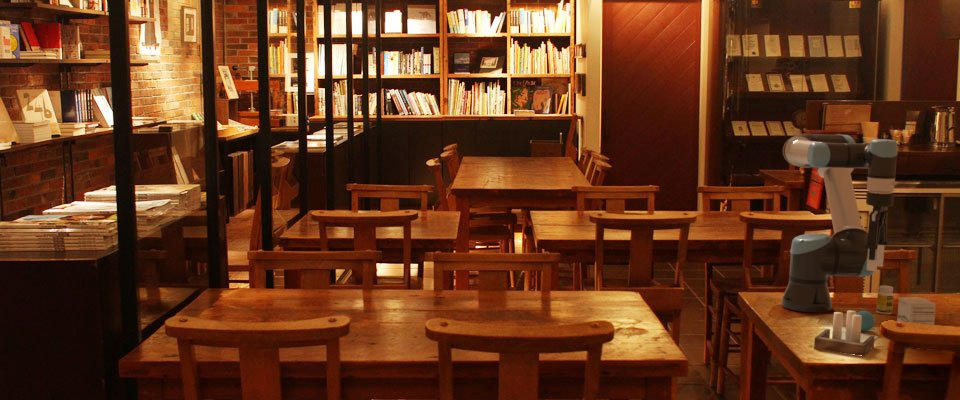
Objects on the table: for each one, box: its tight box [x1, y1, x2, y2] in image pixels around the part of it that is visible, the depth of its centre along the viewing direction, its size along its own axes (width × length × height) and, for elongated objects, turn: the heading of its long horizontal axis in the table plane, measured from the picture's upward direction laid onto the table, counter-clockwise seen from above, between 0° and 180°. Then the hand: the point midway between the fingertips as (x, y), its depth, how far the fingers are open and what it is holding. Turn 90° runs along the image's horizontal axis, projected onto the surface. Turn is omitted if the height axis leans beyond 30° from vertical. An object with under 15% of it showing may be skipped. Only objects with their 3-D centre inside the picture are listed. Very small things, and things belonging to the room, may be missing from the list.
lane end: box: [813, 328, 876, 357], centre depth 283 cm, size 13×12×3 cm
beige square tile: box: [841, 330, 879, 343], centre depth 294 cm, size 10×10×1 cm
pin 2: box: [851, 315, 862, 343], centre depth 283 cm, size 2×2×9 cm
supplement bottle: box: [876, 285, 895, 315], centre depth 325 cm, size 5×5×8 cm
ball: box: [856, 310, 876, 332], centre depth 301 cm, size 6×6×6 cm
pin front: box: [844, 310, 857, 342], centre depth 288 cm, size 2×2×9 cm
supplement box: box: [896, 296, 937, 326], centre depth 288 cm, size 7×7×13 cm
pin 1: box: [831, 311, 844, 340], centre depth 286 cm, size 2×2×9 cm
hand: (874, 268), depth 307 cm, fingers open, 8 cm apart
